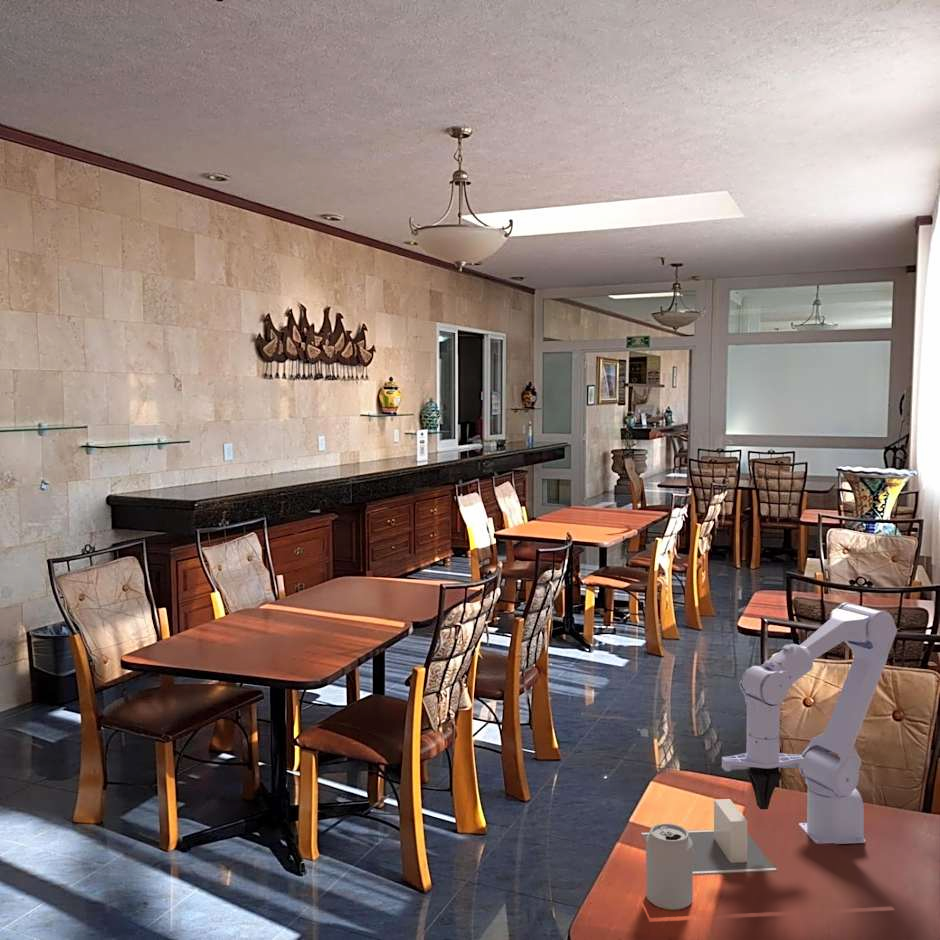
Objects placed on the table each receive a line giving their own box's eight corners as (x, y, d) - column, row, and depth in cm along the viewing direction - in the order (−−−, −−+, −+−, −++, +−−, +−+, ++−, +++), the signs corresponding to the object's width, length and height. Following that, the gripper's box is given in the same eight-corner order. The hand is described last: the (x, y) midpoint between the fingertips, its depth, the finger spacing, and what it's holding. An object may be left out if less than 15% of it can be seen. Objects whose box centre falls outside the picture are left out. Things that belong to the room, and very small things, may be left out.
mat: (743, 830, 171) (743, 827, 171) (777, 873, 155) (777, 870, 155) (640, 835, 170) (640, 832, 169) (663, 879, 154) (663, 875, 154)
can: (666, 919, 142) (666, 846, 141) (636, 896, 148) (636, 826, 147) (702, 906, 145) (702, 835, 144) (672, 885, 152) (671, 816, 151)
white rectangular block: (730, 837, 167) (730, 798, 166) (747, 862, 158) (747, 820, 157) (713, 838, 167) (714, 799, 166) (730, 862, 158) (730, 821, 157)
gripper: (793, 724, 166) (792, 796, 166) (716, 727, 165) (715, 798, 166) (809, 738, 159) (808, 813, 159) (729, 741, 158) (729, 815, 159)
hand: (762, 807), depth 162 cm, fingers closed
